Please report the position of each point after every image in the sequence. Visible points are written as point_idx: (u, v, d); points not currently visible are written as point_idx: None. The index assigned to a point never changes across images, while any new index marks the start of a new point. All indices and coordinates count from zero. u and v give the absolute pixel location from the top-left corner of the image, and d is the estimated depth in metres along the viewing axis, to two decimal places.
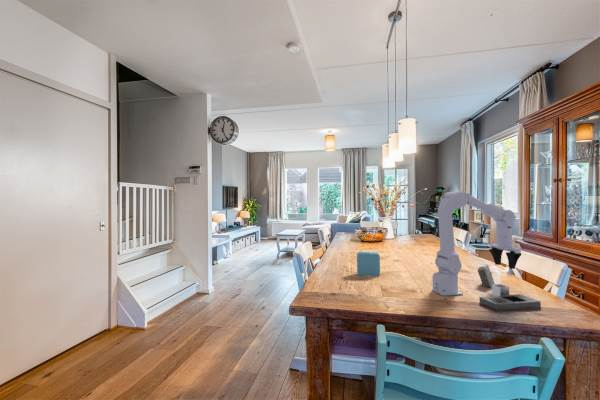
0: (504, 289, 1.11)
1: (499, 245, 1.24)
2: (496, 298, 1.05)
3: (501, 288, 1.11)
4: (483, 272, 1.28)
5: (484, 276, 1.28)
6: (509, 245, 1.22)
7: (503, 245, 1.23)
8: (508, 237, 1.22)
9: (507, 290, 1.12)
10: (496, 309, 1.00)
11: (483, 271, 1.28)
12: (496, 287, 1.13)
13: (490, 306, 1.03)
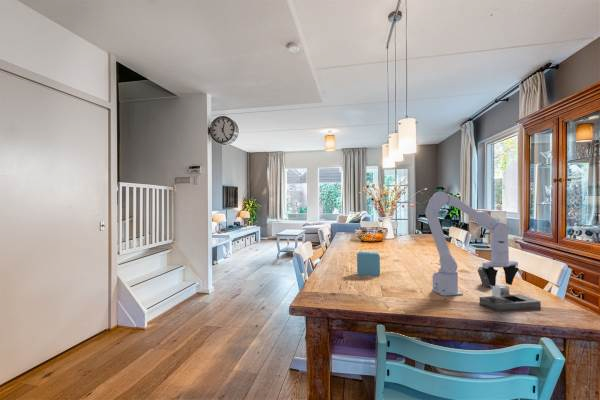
0: (504, 289, 1.11)
1: None
2: (496, 298, 1.05)
3: (501, 288, 1.11)
4: (483, 272, 1.28)
5: (484, 276, 1.28)
6: (493, 260, 1.13)
7: None
8: (492, 252, 1.14)
9: (507, 290, 1.12)
10: (496, 309, 1.00)
11: (483, 271, 1.28)
12: (496, 287, 1.13)
13: (490, 306, 1.03)
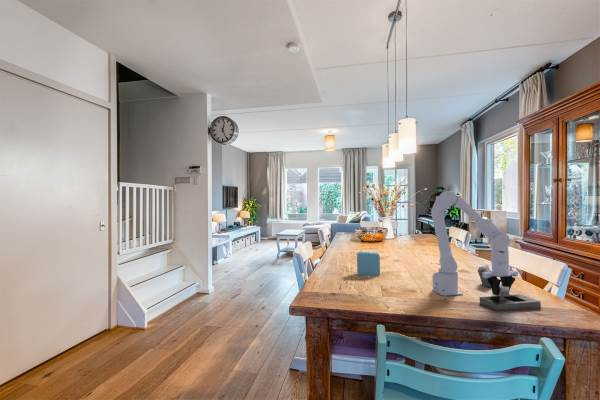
0: (504, 288, 1.11)
1: None
2: (496, 298, 1.05)
3: (501, 288, 1.11)
4: None
5: None
6: (493, 270, 1.13)
7: None
8: (492, 261, 1.14)
9: (507, 290, 1.12)
10: (496, 309, 1.00)
11: (483, 271, 1.28)
12: None
13: (490, 306, 1.03)
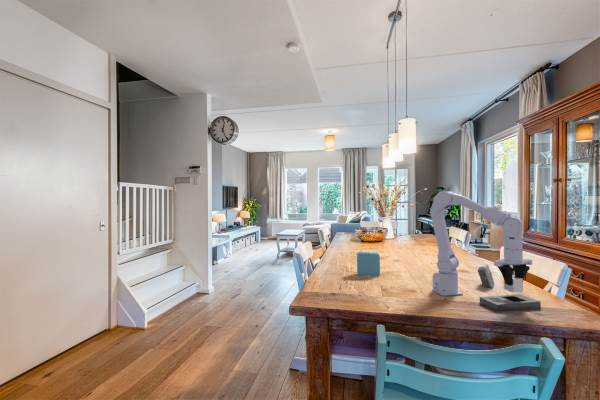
0: (517, 280, 1.03)
1: None
2: (496, 298, 1.05)
3: (514, 279, 1.03)
4: (483, 272, 1.28)
5: (484, 276, 1.28)
6: (506, 258, 1.05)
7: None
8: (505, 249, 1.05)
9: (520, 282, 1.04)
10: (496, 309, 1.00)
11: (483, 271, 1.28)
12: None
13: (490, 306, 1.03)
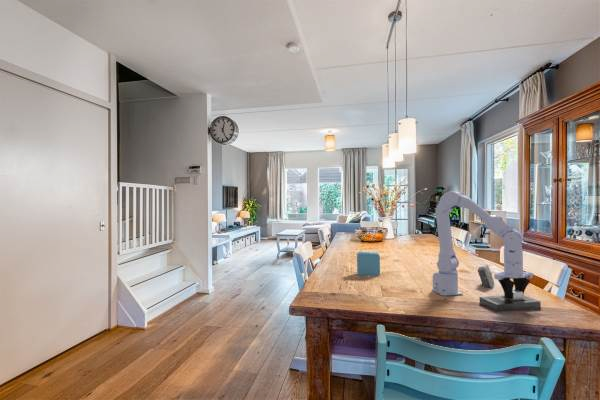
0: (517, 293, 1.03)
1: None
2: (496, 298, 1.05)
3: (514, 293, 1.03)
4: (483, 272, 1.28)
5: (484, 276, 1.28)
6: (506, 271, 1.05)
7: (504, 270, 1.07)
8: (505, 262, 1.05)
9: (521, 295, 1.04)
10: (496, 309, 1.00)
11: (483, 271, 1.28)
12: None
13: (490, 306, 1.03)
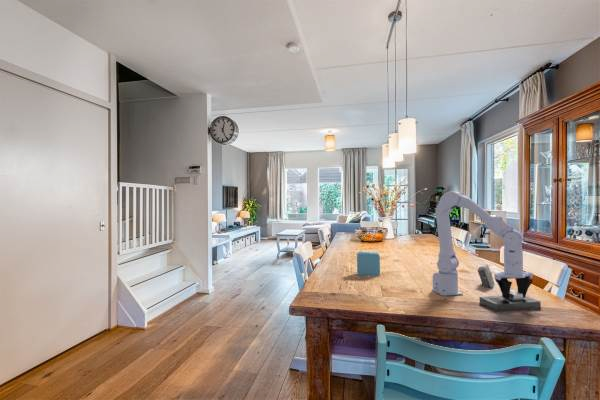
0: (517, 295, 1.03)
1: None
2: (496, 298, 1.05)
3: (514, 295, 1.03)
4: (483, 272, 1.28)
5: (484, 276, 1.28)
6: (506, 271, 1.05)
7: (504, 270, 1.07)
8: (505, 262, 1.05)
9: (521, 297, 1.04)
10: (496, 309, 1.00)
11: (483, 271, 1.28)
12: None
13: (490, 306, 1.03)
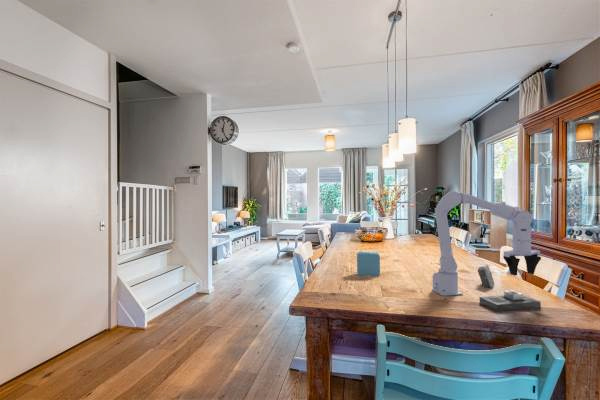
0: (517, 295, 1.03)
1: None
2: (496, 298, 1.05)
3: (514, 295, 1.03)
4: (483, 272, 1.28)
5: (484, 276, 1.28)
6: (515, 249, 1.10)
7: None
8: (514, 240, 1.10)
9: (521, 297, 1.04)
10: (496, 309, 1.00)
11: (483, 271, 1.28)
12: (509, 294, 1.05)
13: (490, 306, 1.03)
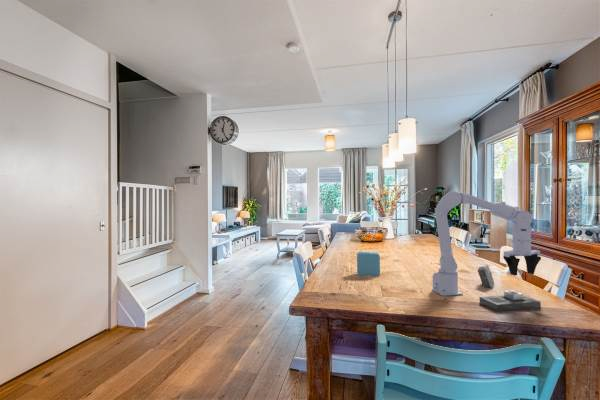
0: (517, 295, 1.03)
1: None
2: (496, 298, 1.05)
3: (514, 295, 1.03)
4: (483, 272, 1.28)
5: (484, 276, 1.28)
6: (515, 249, 1.10)
7: None
8: (514, 240, 1.11)
9: (521, 297, 1.04)
10: (496, 309, 1.00)
11: (483, 271, 1.28)
12: (509, 294, 1.05)
13: (490, 306, 1.03)
